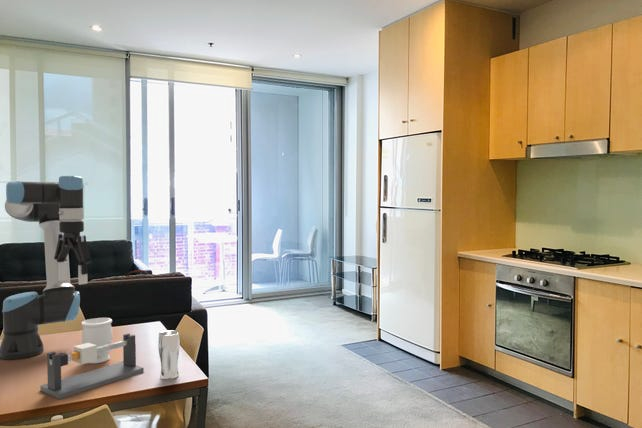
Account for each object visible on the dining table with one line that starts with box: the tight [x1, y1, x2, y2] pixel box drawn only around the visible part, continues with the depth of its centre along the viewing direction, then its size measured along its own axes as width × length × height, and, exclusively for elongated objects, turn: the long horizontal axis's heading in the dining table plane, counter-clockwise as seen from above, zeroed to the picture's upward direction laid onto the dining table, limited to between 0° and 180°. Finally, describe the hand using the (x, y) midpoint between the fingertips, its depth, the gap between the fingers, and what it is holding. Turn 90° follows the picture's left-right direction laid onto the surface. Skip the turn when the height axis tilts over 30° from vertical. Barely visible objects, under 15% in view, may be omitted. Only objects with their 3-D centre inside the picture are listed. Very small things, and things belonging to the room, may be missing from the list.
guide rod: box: [49, 339, 128, 367], centre depth 164 cm, size 3×28×3 cm, turn 144°
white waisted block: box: [157, 329, 181, 381], centre depth 168 cm, size 7×7×15 cm
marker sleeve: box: [73, 343, 97, 365], centre depth 161 cm, size 5×5×5 cm
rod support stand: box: [39, 333, 145, 400], centre depth 164 cm, size 12×29×12 cm, turn 144°
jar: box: [81, 317, 113, 365], centre depth 185 cm, size 11×10×15 cm
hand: (72, 282), depth 171 cm, fingers open, 13 cm apart
